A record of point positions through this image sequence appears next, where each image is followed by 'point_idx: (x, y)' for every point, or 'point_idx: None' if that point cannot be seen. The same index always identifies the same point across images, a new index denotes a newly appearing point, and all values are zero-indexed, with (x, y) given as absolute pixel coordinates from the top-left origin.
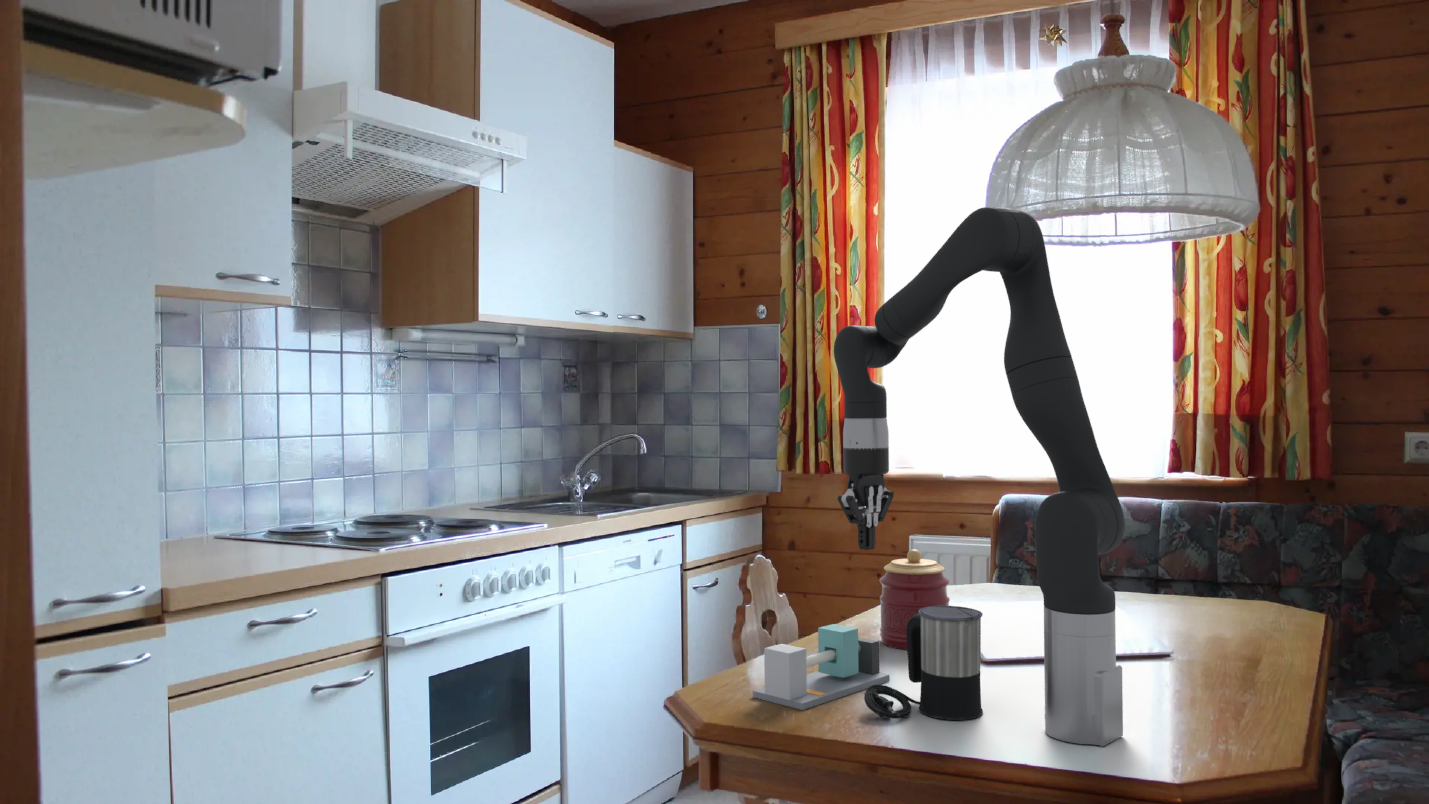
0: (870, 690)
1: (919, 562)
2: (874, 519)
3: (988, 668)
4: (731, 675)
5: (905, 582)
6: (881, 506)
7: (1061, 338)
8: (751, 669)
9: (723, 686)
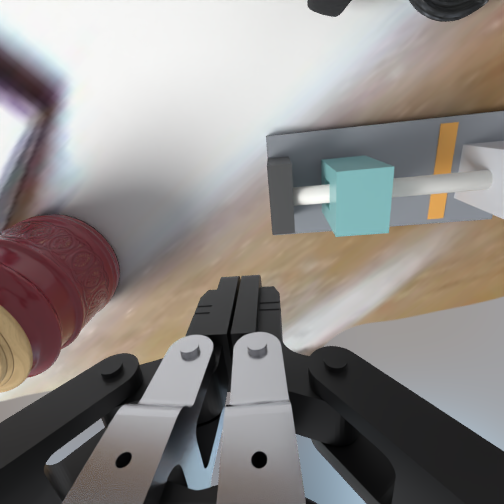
0: (470, 2)
1: None
2: (197, 367)
3: (68, 69)
4: (402, 310)
5: (30, 305)
6: (40, 469)
7: None
8: (359, 314)
9: (457, 281)
